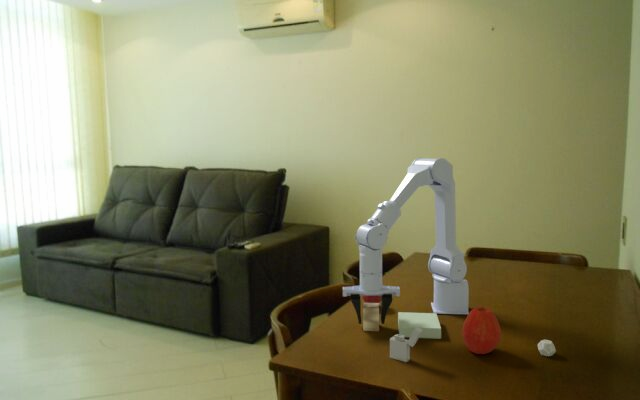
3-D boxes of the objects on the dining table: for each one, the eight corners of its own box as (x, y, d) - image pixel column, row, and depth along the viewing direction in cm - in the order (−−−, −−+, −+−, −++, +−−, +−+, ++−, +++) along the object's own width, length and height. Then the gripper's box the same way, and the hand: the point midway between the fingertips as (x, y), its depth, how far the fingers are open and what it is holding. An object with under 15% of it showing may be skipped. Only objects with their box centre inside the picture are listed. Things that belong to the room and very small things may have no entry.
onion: (381, 311, 126) (381, 284, 125) (361, 310, 127) (361, 283, 126) (383, 304, 131) (382, 278, 131) (363, 303, 133) (363, 277, 132)
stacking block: (436, 324, 117) (436, 313, 117) (441, 340, 107) (441, 328, 107) (398, 322, 118) (398, 312, 118) (399, 338, 109) (399, 326, 108)
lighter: (389, 357, 98) (389, 322, 97) (392, 354, 99) (393, 320, 98) (419, 366, 94) (419, 330, 93) (422, 362, 95) (423, 327, 94)
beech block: (379, 325, 116) (379, 303, 115) (378, 331, 112) (378, 308, 112) (363, 324, 117) (363, 302, 116) (363, 330, 113) (363, 308, 112)
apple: (496, 363, 94) (497, 314, 93) (457, 354, 99) (458, 308, 98) (503, 348, 101) (504, 303, 100) (466, 340, 106) (467, 297, 104)
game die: (547, 359, 96) (548, 346, 95) (533, 352, 99) (533, 339, 99) (559, 356, 97) (559, 343, 97) (544, 349, 100) (545, 336, 100)
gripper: (397, 266, 116) (397, 316, 118) (342, 267, 117) (343, 316, 119) (401, 274, 109) (401, 327, 111) (342, 274, 110) (343, 327, 112)
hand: (371, 322), depth 114 cm, fingers open, 5 cm apart
